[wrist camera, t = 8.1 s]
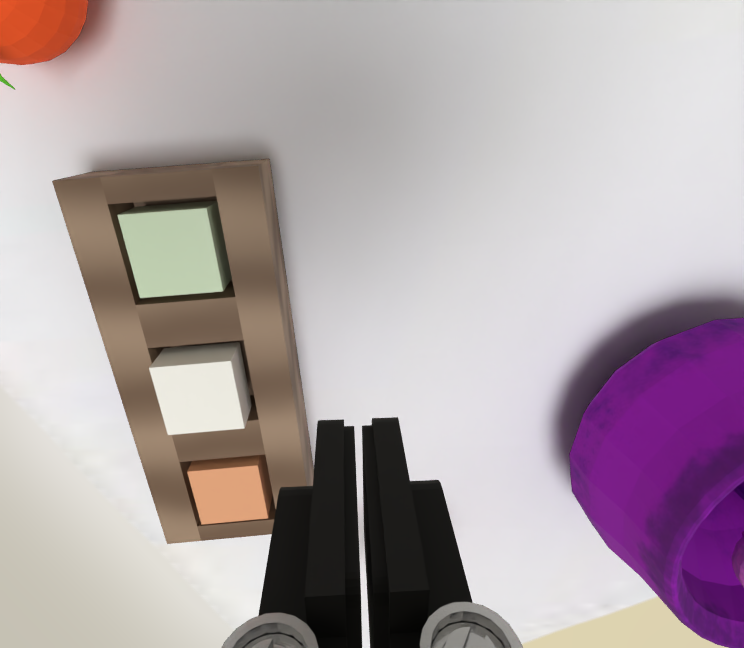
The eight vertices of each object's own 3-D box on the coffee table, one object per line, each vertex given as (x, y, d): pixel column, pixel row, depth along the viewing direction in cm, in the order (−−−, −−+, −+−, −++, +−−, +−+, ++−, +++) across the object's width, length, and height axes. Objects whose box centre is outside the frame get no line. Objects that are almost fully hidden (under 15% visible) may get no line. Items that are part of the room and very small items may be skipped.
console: (91, 171, 27) (52, 180, 24) (269, 158, 28) (258, 165, 24) (184, 501, 37) (167, 543, 33) (316, 489, 37) (313, 530, 33)
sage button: (136, 206, 26) (117, 215, 24) (217, 200, 26) (206, 208, 24) (155, 283, 28) (140, 298, 26) (232, 277, 28) (223, 291, 26)
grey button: (163, 348, 28) (149, 367, 26) (239, 342, 29) (230, 361, 26) (180, 411, 30) (167, 435, 28) (251, 405, 30) (244, 428, 28)
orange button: (197, 447, 33) (187, 471, 30) (263, 441, 33) (257, 465, 31) (210, 498, 34) (201, 524, 32) (272, 492, 34) (268, 518, 32)
